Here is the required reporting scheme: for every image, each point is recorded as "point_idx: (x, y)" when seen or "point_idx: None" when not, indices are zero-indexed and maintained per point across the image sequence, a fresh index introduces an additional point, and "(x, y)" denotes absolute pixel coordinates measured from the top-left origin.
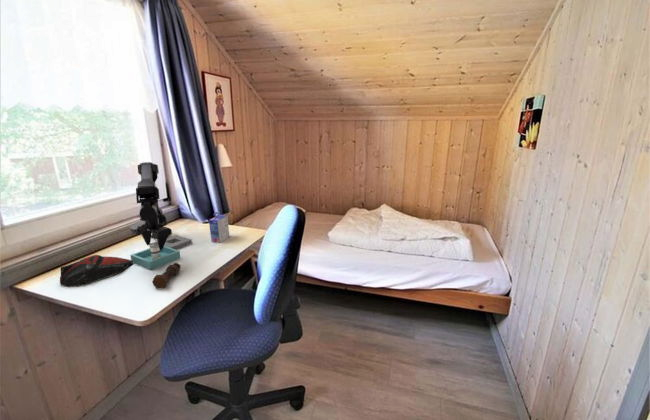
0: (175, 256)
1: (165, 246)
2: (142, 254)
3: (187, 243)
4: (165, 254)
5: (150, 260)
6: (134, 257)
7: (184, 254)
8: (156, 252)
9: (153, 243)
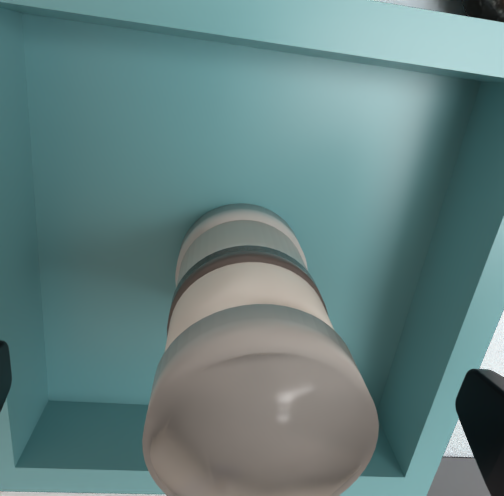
0: None
1: None
2: (466, 219)
3: None
4: None
5: (256, 181)
6: (472, 23)
7: None
8: (174, 296)
9: (302, 447)
